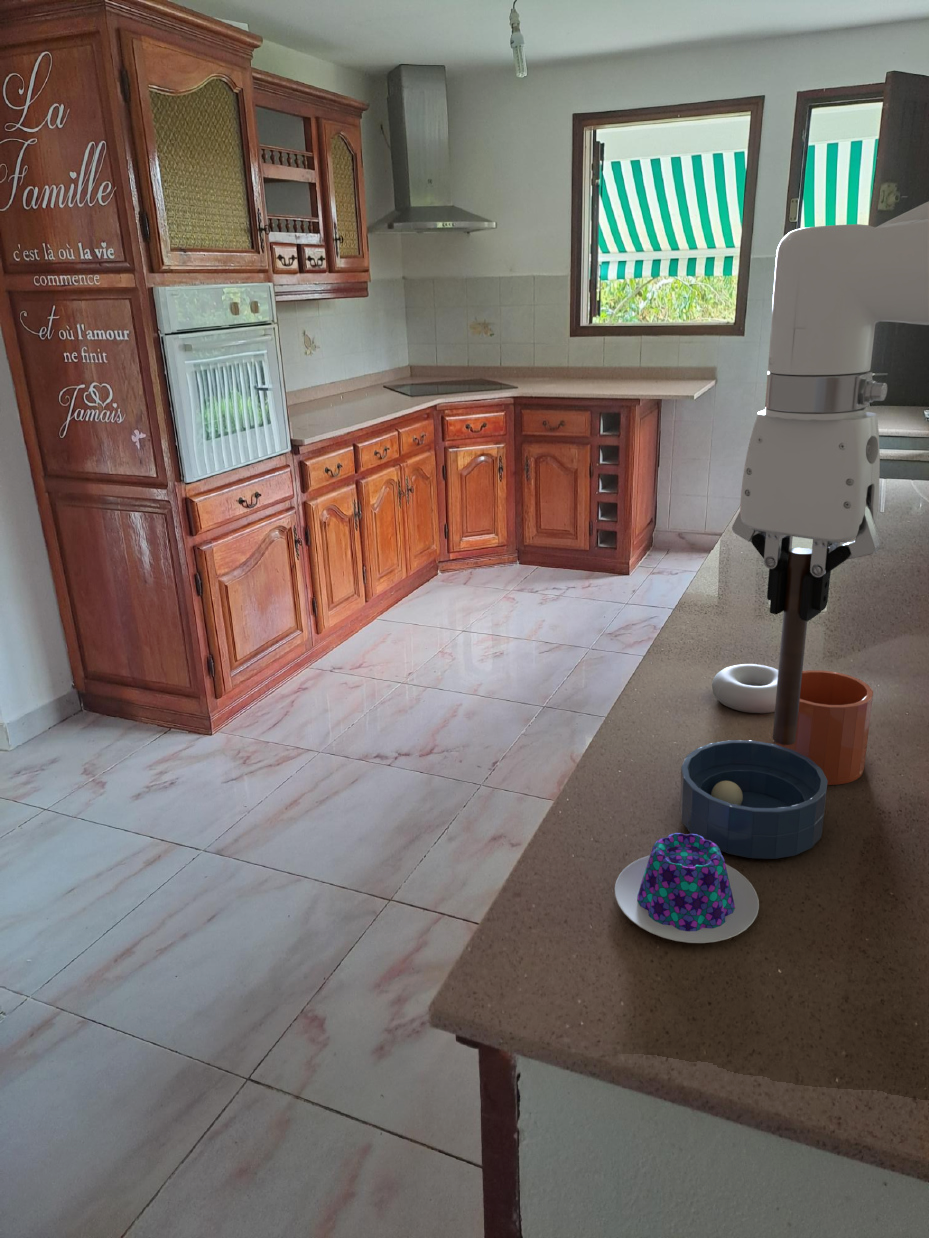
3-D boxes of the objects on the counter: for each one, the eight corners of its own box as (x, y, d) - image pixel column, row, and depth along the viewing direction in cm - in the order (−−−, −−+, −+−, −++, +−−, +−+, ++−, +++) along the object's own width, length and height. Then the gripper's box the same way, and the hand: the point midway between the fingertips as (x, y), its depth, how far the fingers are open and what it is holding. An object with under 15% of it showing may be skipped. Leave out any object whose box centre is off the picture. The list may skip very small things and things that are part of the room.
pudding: (612, 943, 71) (613, 890, 69) (616, 854, 82) (616, 806, 80) (767, 956, 69) (772, 901, 67) (749, 863, 80) (753, 814, 78)
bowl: (843, 816, 86) (849, 767, 84) (785, 882, 77) (789, 829, 75) (720, 773, 95) (722, 727, 93) (654, 828, 86) (655, 779, 84)
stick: (799, 738, 81) (818, 550, 74) (789, 747, 79) (808, 555, 73) (778, 732, 82) (795, 546, 76) (768, 740, 81) (784, 551, 74)
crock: (876, 758, 96) (886, 683, 93) (843, 794, 90) (852, 715, 87) (794, 734, 102) (801, 663, 99) (758, 766, 96) (763, 691, 93)
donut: (810, 702, 110) (744, 676, 117) (813, 677, 108) (746, 652, 116) (760, 727, 104) (694, 698, 112) (763, 701, 103) (695, 673, 111)
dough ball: (747, 807, 88) (749, 781, 87) (732, 821, 86) (734, 794, 84) (719, 797, 90) (721, 771, 88) (704, 810, 88) (706, 784, 86)
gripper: (938, 394, 67) (907, 619, 74) (744, 387, 77) (731, 585, 84) (904, 406, 62) (874, 647, 69) (701, 396, 72) (691, 606, 79)
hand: (795, 611), depth 76 cm, fingers closed on stick, 2 cm apart
